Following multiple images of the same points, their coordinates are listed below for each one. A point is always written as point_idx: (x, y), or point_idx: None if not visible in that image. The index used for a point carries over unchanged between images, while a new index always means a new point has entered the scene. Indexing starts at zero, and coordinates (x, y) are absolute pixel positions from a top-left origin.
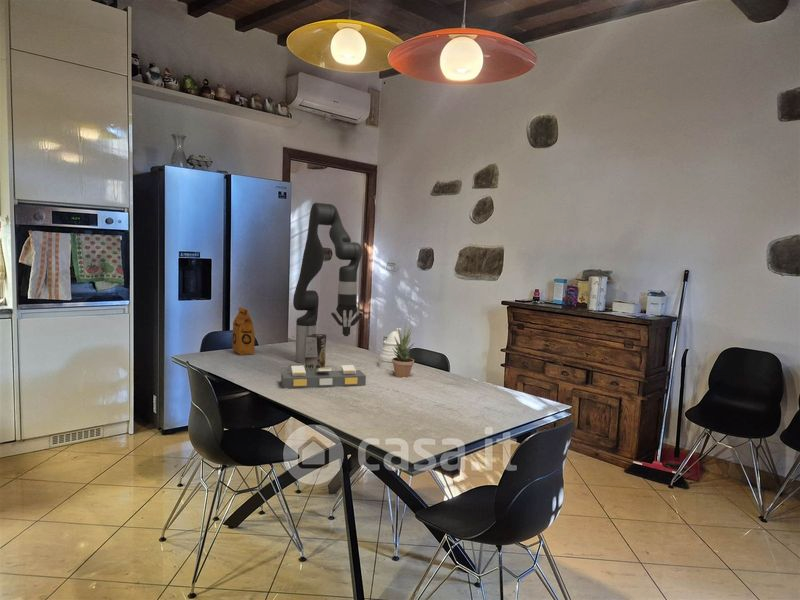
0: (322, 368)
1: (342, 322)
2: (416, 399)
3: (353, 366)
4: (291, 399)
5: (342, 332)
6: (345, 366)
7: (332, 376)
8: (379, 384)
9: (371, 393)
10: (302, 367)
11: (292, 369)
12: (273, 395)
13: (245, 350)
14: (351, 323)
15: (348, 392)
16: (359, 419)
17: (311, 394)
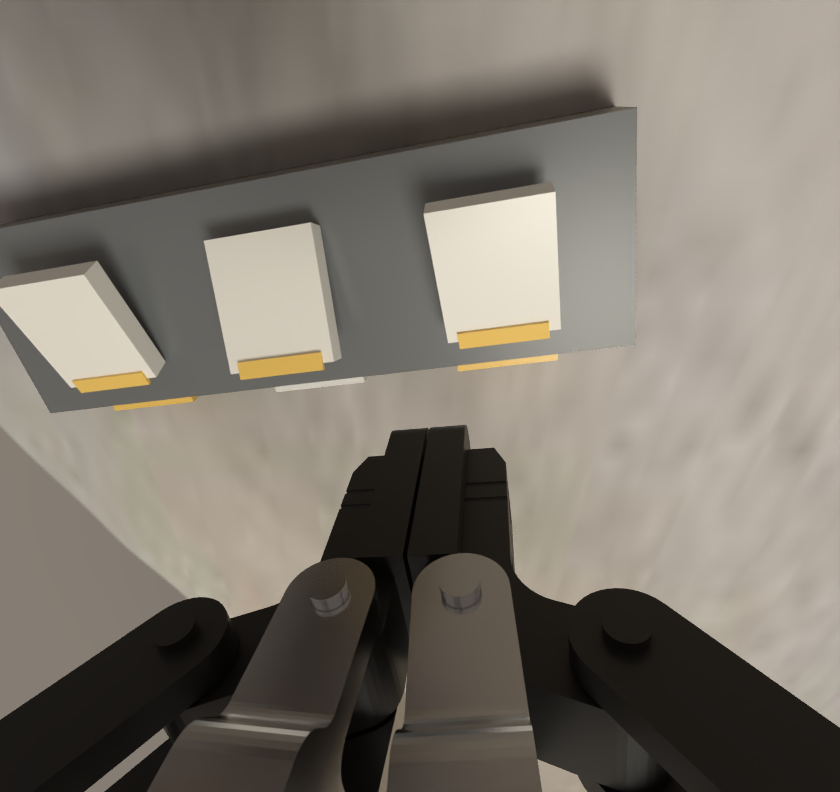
0: (262, 370)
1: (265, 682)
2: (834, 590)
3: (553, 233)
4: (194, 551)
5: (351, 486)
6: (469, 241)
7: (360, 366)
8: (743, 277)
9: (609, 484)
10: (90, 306)
11: (34, 341)
12: (92, 493)
13: None
14: (562, 744)
15: None
16: None
17: (270, 487)
